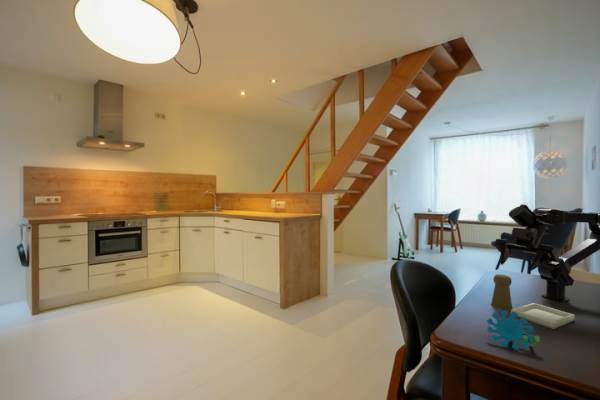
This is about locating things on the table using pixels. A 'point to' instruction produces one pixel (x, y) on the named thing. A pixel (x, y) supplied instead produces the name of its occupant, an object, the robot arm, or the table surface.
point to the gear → (512, 330)
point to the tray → (544, 315)
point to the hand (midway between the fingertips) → (515, 266)
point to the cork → (502, 292)
